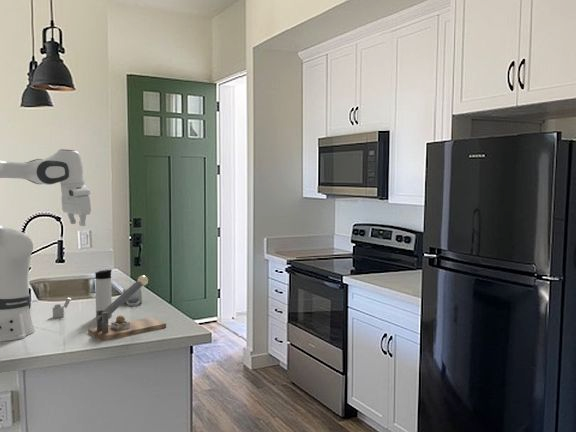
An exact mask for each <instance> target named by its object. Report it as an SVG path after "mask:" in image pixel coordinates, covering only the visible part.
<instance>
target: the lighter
mask: <svg viewBox="0 0 576 432" xmlns="http://www.w3.org/2000/svg"><path fill="white" fill-rule="evenodd" d="M71 301H72V298H71V297H67V299H66V300H65V303H64V304H63V305H61V303H59V304H54V306H52V318H53V319H55V318H56V319H57V318H64V317H65V314H64V313H65V311H64V308H65V309H67V308H68V306H69V304H70V302H71Z"/></svg>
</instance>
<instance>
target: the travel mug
mask: <svg viewBox="0 0 576 432" xmlns="http://www.w3.org/2000/svg"><path fill="white" fill-rule="evenodd" d="M94 277H95V281H94V282H95V286H94V287H95V317H96V319H97V310H103V311H104V310H105V309H106V308H107V307H108V306H109V305H110V304H112V303H113V302H112V300H113V299H112V296H113V295H112V269H106V270H104V269H103V270H98V271H96V272H95V276H94ZM112 316H113V313H112V314H111V315H110V316H108V319H110V318H112Z"/></svg>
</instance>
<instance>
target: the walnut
mask: <svg viewBox="0 0 576 432" xmlns="http://www.w3.org/2000/svg"><path fill="white" fill-rule="evenodd" d="M115 319H116V320H115V321H116V322H117V323H118V324H122V323H124V321H126V317H124V316H123V315H118V316H117V317H116V318H115Z"/></svg>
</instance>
